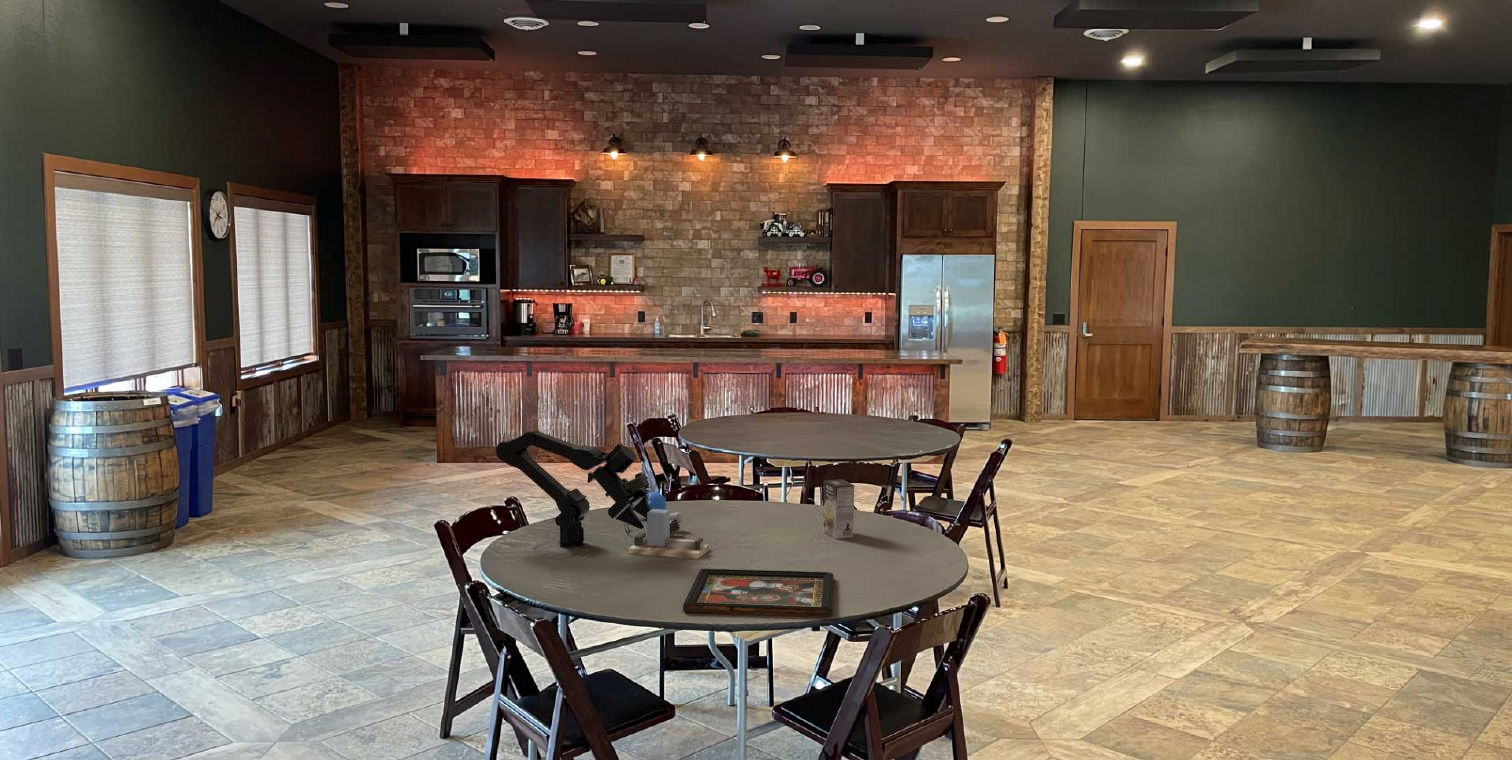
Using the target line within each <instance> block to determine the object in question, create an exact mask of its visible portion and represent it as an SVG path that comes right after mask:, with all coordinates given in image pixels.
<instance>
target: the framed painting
mask: <svg viewBox="0 0 1512 760" xmlns="http://www.w3.org/2000/svg"><path fill="white" fill-rule="evenodd" d="M834 581H835V580H834V573H833V572H827V571H801V570H770V569H769V570H762V569H757V570H756V569H727V568H700V569H699V571H698V573H697V575H696V578H695V579H694V581H693V584H692V585H691V587H690V590H689V592H688V594H687V595H686V598H685V600H684V601H683V604H682V611H683V612H684V611H685V613H701V612H711V613H710V614H725V613H736V614H735V615H748V614H759V616H780V617H781V616H786V617H789V616H790V617H806V616H819V617H818V618H831V617H832V616H833V608H834V583H835V582H834ZM713 612H714V613H713Z"/></svg>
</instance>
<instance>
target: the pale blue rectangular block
mask: <svg viewBox="0 0 1512 760" xmlns="http://www.w3.org/2000/svg"><path fill="white" fill-rule="evenodd" d="M670 513H671V512H670V509H666V510H661V509H652V510H651V511H649V512H647V518H646V520H647V521H646V524H647V525H646V527H647V529H646V537H647V545H651V546H665V539H666V538H671V537H670V535H671V534H670V533H671V532H670Z"/></svg>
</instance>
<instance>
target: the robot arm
mask: <svg viewBox="0 0 1512 760" xmlns="http://www.w3.org/2000/svg"><path fill="white" fill-rule="evenodd" d="M532 446H533V447H536V448H539V449H541V450H543V451H546V452H549V453H552V454H555V455H557V456H560V457H562V458H565V459H567V460H569V461H570V462H571V464H573V465H574V466H576V467H578V468H580V470H583V471H589V470H592V469H594V471H590V472H587V480H586V481H587V483H588V484H589V483H592V482H594V481H595V482H596V483H597V484H598V485H599V486H600V487H601V488H602V489H603V490H604V491H605V493H604V496H605V497H606V498H608V497H610V498H611V499H612V501H614V503H613V504H612V505H611V506H610V507H609V508H608V510H607V515H608V516H609V517H610V518H611V519H612V520H614V519H615V520H616V521H617V520H618V521H621V522H622V523H627V524H628V525H630V526H632V527H635V528H637V529H639V530H644V529H643V528H644V527H645V526H644V523H642V521H641V520H640V518H639V516H638V515H637V513H638V514H639V515H640V516H642V517H644V518H646V519H647V512H649V511H651V509H650V507H649V504H648V497H649V494H648V493H650V491H649V490H648V489H647V487H646V486H649V482H648V479H649V476H647V475H646V474H645V473H643V472H637V473H636V474H635V475H634V478H633V479H631V480H628V479H627V478H621V476H619V474H618V473H620V474H623V473H624V472H626V471H627V469H628V468H630V467H631V466H632V465H633V464H634V463H635V462H636V461H637V459H638V458H637V455H636V454H635V452H634V451H633V450H632V449H630V448H629V447H627V445H624V444H623V443H621V442H619V443H618V444H616V445H615V447H614V448H613V449H612V450H611V451H610V452H605V451H602V450H601V449H600V448H598V447H596V446H590V445H580V444H574V443H571V442H568V441H566V440H563V439H561V438H558V437H555V436H553V435H550V434H548V433H544V432H542V431H539V430H538V429H532V430H528V431H527V432H525V433H524V434H522V435H519V436H518V437H516V438H509V439H507V440H503V441H501V442H499V443H498V444H497V446H496V448H495V457H497V458H498V460H500V461H501V462H503V463H505V464H506V465H508V466H510V467H513V468H514V469H518V470H520V472H522V473H523V474H524V475H526V476H527V478H529V479H530V481H531V482H533V483H534V484H535V485H536V486H537V487H538V488H540V489H541V490H542V491H543V492H544V493H545V494H547V495H548V496H549V497H550V498H551V499H552V500H553V501H554V502H555V504H556V507H557V509H558V510H559V512H560V513H559V514H558V515H557V516H556V517H555V518H554V521H555V524H556V526H557V527H558V545H559V547H561V548H563V547H566V548H567V547H580V546H583V545H584V541H585V538H584V537H585V533H584V532H585V531H584V526H583V525H582V521H584V519H585V516H586V515H587V514H588V513H589V511H590V502H589V500H588V499H587V498H588V496H587V495H584V494H583V493H582V492H581V491H580V489H578V488H577V487H576V488H574V489H571V490H570V489H567V487H565V486H564V485H562V484H561V483H560V482H559V481H558V480H557V479H556V478H555V477H553V475H551V473H549V472H547V470H546V469H544V468H543V466H541V465H540V464H539V463H538V462H536V460H534V459H533V457H531V454H530V453H529V449H528V448H530V447H532ZM604 463H605V464H604ZM602 464H604V465H603V466H601V465H602ZM647 494H648V495H647Z"/></svg>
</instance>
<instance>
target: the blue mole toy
mask: <svg viewBox="0 0 1512 760" xmlns="http://www.w3.org/2000/svg"><path fill="white" fill-rule="evenodd" d="M648 494H649V497H648V504H649V507H650V509H651V510H652V509H661V510H667V501H666V498H665V496H664V495H663V494H661V493H660V492H656V491H651V492H650V491H649V493H648ZM648 494H647V495H648Z"/></svg>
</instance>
